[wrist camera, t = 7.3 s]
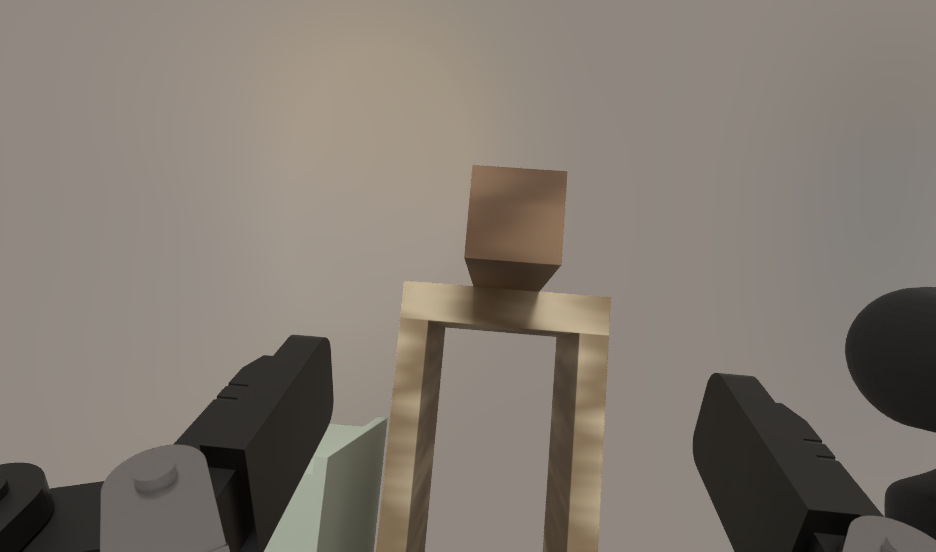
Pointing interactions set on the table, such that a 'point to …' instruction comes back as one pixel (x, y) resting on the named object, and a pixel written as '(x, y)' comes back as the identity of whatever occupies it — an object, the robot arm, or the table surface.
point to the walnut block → (515, 227)
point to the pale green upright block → (336, 494)
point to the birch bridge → (572, 407)
